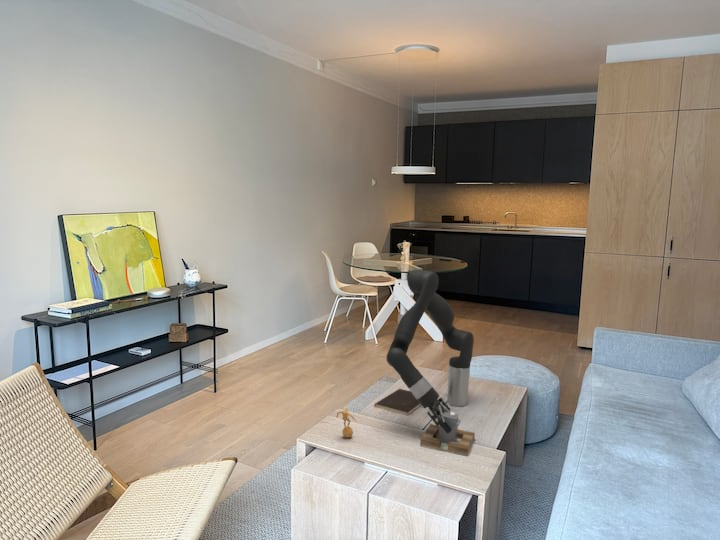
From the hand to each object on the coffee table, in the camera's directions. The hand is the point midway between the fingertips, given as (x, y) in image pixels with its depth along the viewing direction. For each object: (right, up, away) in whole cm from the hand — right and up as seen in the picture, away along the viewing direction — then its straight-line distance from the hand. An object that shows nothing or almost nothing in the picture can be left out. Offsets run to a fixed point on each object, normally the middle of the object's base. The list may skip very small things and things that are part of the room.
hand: (452, 427), depth 189 cm
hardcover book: (-15, -2, +39) cm, 42 cm away
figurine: (-39, -4, +1) cm, 39 cm away
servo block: (-2, -5, +1) cm, 6 cm away
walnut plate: (-1, -6, +1) cm, 6 cm away
